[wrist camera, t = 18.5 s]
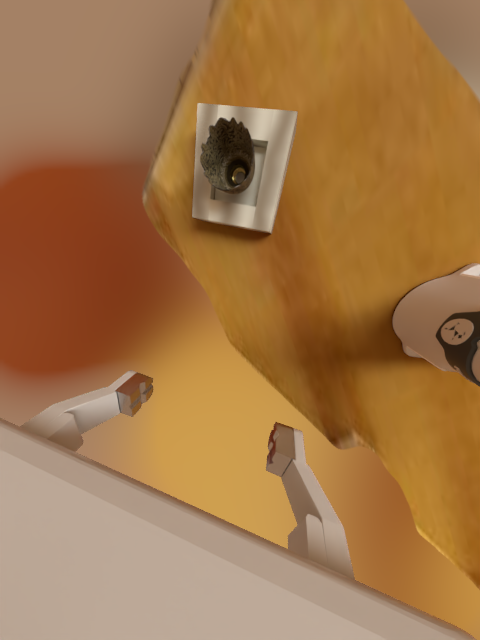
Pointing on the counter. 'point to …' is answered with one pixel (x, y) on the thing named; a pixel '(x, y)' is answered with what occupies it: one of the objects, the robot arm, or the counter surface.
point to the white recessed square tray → (270, 169)
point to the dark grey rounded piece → (228, 156)
